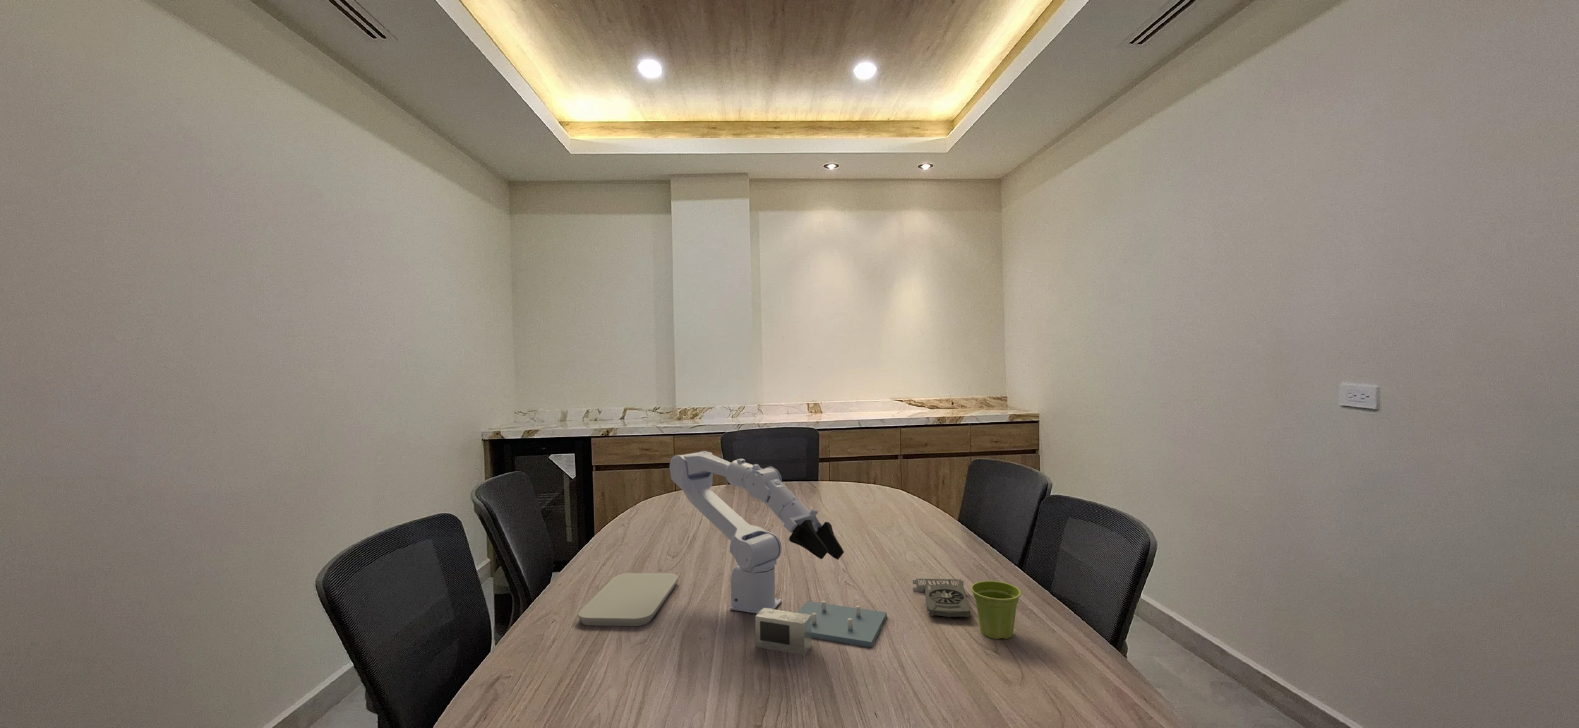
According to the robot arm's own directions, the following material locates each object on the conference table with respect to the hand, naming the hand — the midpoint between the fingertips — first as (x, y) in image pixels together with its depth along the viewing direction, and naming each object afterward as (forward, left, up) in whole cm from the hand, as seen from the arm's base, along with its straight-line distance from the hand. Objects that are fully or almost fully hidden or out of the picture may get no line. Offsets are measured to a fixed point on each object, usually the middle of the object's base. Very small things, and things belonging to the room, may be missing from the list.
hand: (832, 555), depth 116 cm
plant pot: (+30, +11, -16) cm, 36 cm away
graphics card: (+18, +21, -17) cm, 33 cm away
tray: (-1, +4, -16) cm, 16 cm away
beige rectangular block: (-8, -8, -16) cm, 19 cm away
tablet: (-49, 0, -16) cm, 51 cm away
